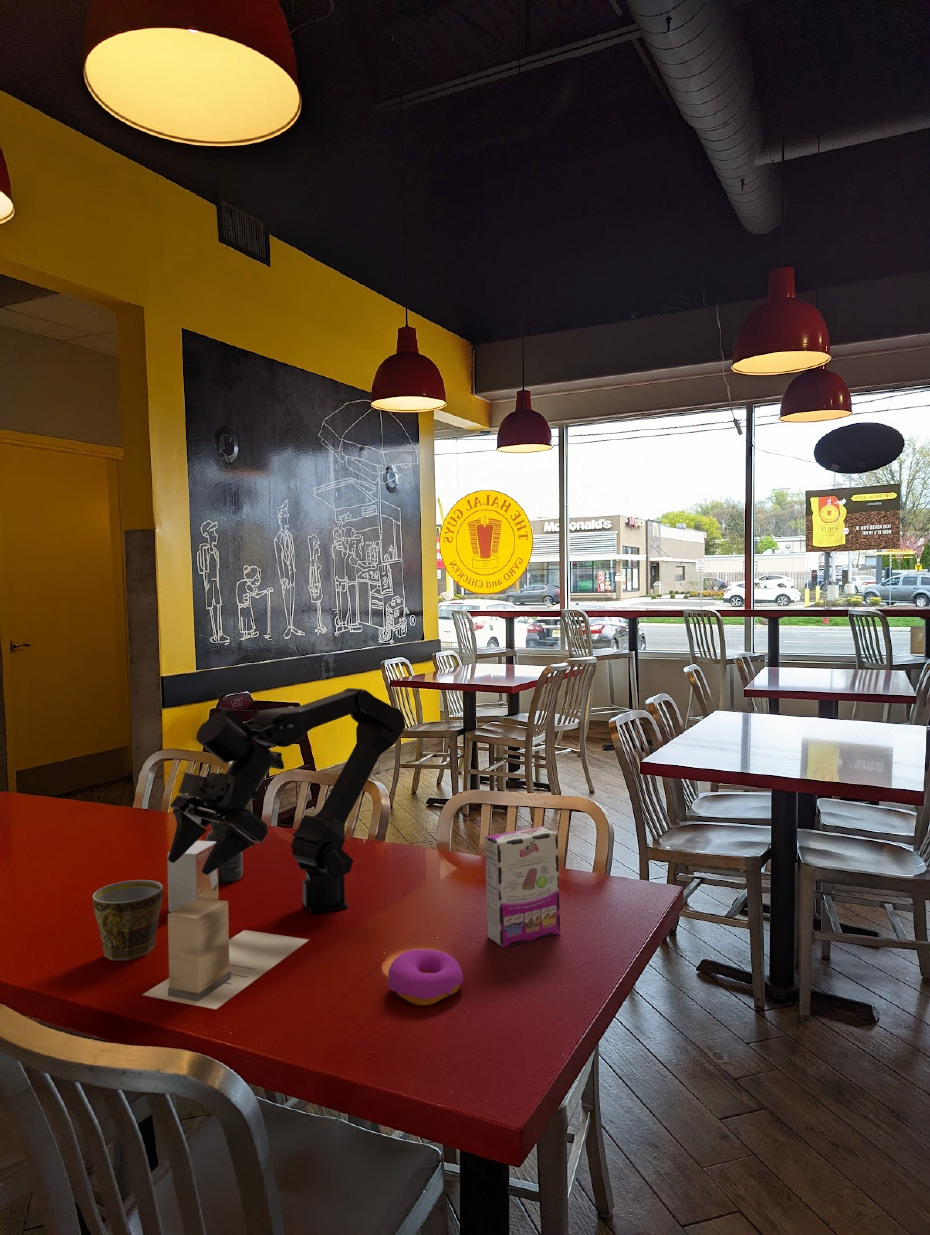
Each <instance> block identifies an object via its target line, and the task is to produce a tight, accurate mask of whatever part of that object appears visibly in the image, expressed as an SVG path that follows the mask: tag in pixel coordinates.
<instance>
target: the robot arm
mask: <svg viewBox="0 0 930 1235" xmlns="http://www.w3.org/2000/svg"><path fill="white" fill-rule="evenodd" d="M349 715H350V717H351V719H352V720H354V722H356V723H357V725H356V728H355V737H356V743H355V746H354V747H353V749H352V751H351V753H350V754H349V757H348V759H347V760H346V762H345V764H344V766H343V768H342V770H341V771H340V774H339V776H338V777H337V779H336V781H335V783H334V785H333V786H332V788H331V791H330V792H329V794H328V796H327V797H326V800H325V802H324V803H323V805H322V807H321V809H320V810H319V812H317V813H316V814H315V815H314V816H309V815H308V814H307V815H304V816H303V817H302V818H301V820H300V823H299V825H298V827H297V828H296V831H295V832H293V833H292V837H293V839H292V842H291V846H290V848H291V850H292V856H293V858H294V860H296V862H297V865H298V868H299V870H304V871H305V879H303V880H302V903H303V905H304V906H305V907H306V908H307V910H309V912H310V913H311V914H313V915H314V914H320V913H324V912H325V913H326V912H330V911H336V910H342V909H347V908H349V904H348V903H347V901H346V897H345V896H346V895H345V894H346V893H345V892H346V890H345V884H346V883H345V880H346V879H345V876H346V874H349V873H351V871H352V866H353V863H354V860H353V858H352V857H350V855H348V853H346V852H345V851H344V850H343V848H344V844H345V841H346V830H345V829H346V828H345V827H346V826H345V825H346V822H347V820H348V818H349V817H350V814H351V812H352V811H353V808H354V807H355V805H356V803H357V801H358V799H359V797H360V795H361V793H362V792H363V788H364V787H365V785H366V783H367V781H368V780H369V778H370V775H371V774H372V771H373V770H374V768H375V766H376V765H377V762H378V760H379V759H380V757H381V755H382V754H384V753H385V752H386V751H388V750H389V749H390V748H392V747H393V746H394V745H395V744H396V743H397V741H398V740H399V739H400V737H401V735H402V734H403V733H404V731H405V728H406V721H405V717H404V713H403V712H402V710H401V709H399V708H397V707H393V706H392V705H390V704H388V703H387V702H385V701H383V700H381V699H379V698H378V697H376V696H374V695H373V694H372V693H371V692H369V691H368V690H366V689H364V688H354V687H353V688H352V687H349V688H346V689H344V690H342V691H339V692H337V693H334V694H332V695H329V696H325V697H323V698H320V699H317V700H313V701H311V702H310V701H309V702H308V703H305V704H302V705H299V706H293V707H283V708H282V707H281V708H280V707H279V708H271V709H270V708H269V709H268V708H267V709H262V710H260V711H258V712H257V713H256V714H254V718H252V719H249V720H247V721H244V722H243V721H242V720H241V719H240V718H239V717H238V716H237V715H236V713H235V712H234V711H233V710H232V709H230V708H221V709H220V711H219V712H218V713H217V714H214V715H213V716H211V717H210V718H208V719H207V720H206V721H205V722H203V723H202V724H201V725H200V727H199V728H198V730H197V732H196V736H195V737H196V738H195V739H196V742H198V743H199V745H201V746H202V747H203V748H205V749H206V750H207V751H209V752H210V753H211V754H212V755H213V756H214V757H216V758H217V759H218V760H219V761H220V762H222V763H225V764H226V763H230V765H229V767H228V769H227V770H226V772H225V773H223V772H214V771H211V772H210V773H209V774H208V776H207V777H205V776H202V775H198V774H192V773H188V772H184V774H183V777H182V780H181V783H180V787H179V789H178V793H179V794H178V795H176V796H175V797H174V799H173V801H172V802H171V804H170V805H169V807H170V808H172V811H171V812H172V814H173V815H174V817H175V818H174V819H175V822H176V828H175V831H174V832H175V834H174V837H173V839H172V844H171V847H170V850H169V852H170V854H169V857H168V856H167V861H168V860H169V861H170V862H172V863H174V862H176V861H177V860H178V859H179V858H180V857H181V856H182V855H183V854H184V853H185V852H186V851H187V850H188V849H189V848H190V847H191V846H192V845H193V844H194V843H195V842H196V841H199V839H200V838H201V837H202V836H203V835H204V834H205V833H206V832H207V831H208V830H207V829H206V827H208V826H209V825H211V822H212V821H213V822H216V823H219V838H218V840H217V841H216V843H215V845H214V847H213V849H212V851H211V853H210V855H209V856H208V858H207V860H206V862H205V864H204V867H203V869H202V873H204V874H205V875H208V874H210V873H211V872H213V871H214V870H215V869H217V868H218V867H220V866H221V865H222V864H224V863H225V862H227V861H228V860H230V859H231V858H232V857H234V856H236V855H237V854H239V853H240V852H242V853H243V851H246V850H247V849H248V848H251V847H254V846H255V845H256V844H255V842H256V843H258V844H262V843H263V842H264V840H265V838H266V837H267V835H268V833H269V830H268V824H267V823H266V822H265V821H264V820H262V819H261V818H260V817H259V816H257V815H256V814H254V812H252V811H251V810H249V809H246V808H247V807H248V805H249V804H250V802H251V801H252V800H254V801H258V800H259V798H260V796H261V794H260V793H259V792H257V791H258V789H259V787H260V786H261V784H262V783H263V781H264V779H265V778H266V776H267V774H268V773H269V772H270V770H271V768H272V769H277V770H284V768H285V764H284V763H285V762H284V760H283V755H282V754H283V753H282V752H279V751H273V750H271V749H270V748H268V746H273V747H274V746H275V747H278V748H279V747H280V748H287V747H289V746H291V745H293V744H295V743H297V742H298V741H300V740H301V739H304V737H305V736H306V734H307V733H308V732H309V731H311V730H312V729H314V728H317V727H320V726H323V725H325V724H328V723H331V722H333V721H336V720H338V719H341V718H343V717H346V716H349ZM253 740H254V741H256V742H257V743H258V744H257V743H255V742H254V741H253ZM266 745H268V746H266ZM223 817H224V818H223Z"/></svg>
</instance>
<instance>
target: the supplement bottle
mask: <svg viewBox="0 0 930 1235" xmlns="http://www.w3.org/2000/svg"><path fill="white" fill-rule="evenodd" d="M223 818H224V817H223ZM210 829H211V831H210V832H208V834H207V835H206V837H205V841H214V842H216V841H217V840H218V838H219V823H216V822H213V821H212V822H211V824H210ZM242 877H243V851H242V852H240V853H239V854H237V855H236V856H234V857H232V858H231V859H230V860H228V861H227V862H225V863H224V864H222V865H221V866H220V867H218V885H224V884H231V883H235V882H237V881H239V880H240V879H242Z"/></svg>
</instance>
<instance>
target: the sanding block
mask: <svg viewBox="0 0 930 1235" xmlns="http://www.w3.org/2000/svg"><path fill="white" fill-rule="evenodd" d="M229 923H230V922H229V901H228V900H222V899H221V900H220V899H217V900H215V899H208V898H201V897H200V898H198V899H196V900H194V901H192V902H190V903H188V904H186V905H185V906H183V907H181V908H179V909H177V910H175V911H173V912H168V914H167V930H168V931H167V933H168V936H167V939H168V940H167V943H168V978H169V988H168V996H172V997H177V998H182V999H188V1000H193V1001H198V1002H199V1001H200V1000H201V999H203V998H204V997H206V996H207V995H208V994H210V993H211V992H213V991H214V990H215V989H217V988H218V987H220V986H221V985H223V984H224V983H225V982H227V981H228V980H230V979H231V971H229V940H230V938H229V937H230V935H229V932H230V930H229V929H230V928H229V927H230V926H229Z"/></svg>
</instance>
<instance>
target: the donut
mask: <svg viewBox="0 0 930 1235" xmlns="http://www.w3.org/2000/svg"><path fill="white" fill-rule="evenodd" d="M387 972H388V974H387V982H388V983H387V984H388V985H387V986H388V988H389V989H390V990H391V991H393V992H395V993H396V994H397V996H399V997H400V998H402V999H404V1001H407V1002H409V1003H411V1004H413V1005H416V1006H420V1005H423V1007H427V1006H431V1005H434V1004H435V1003H436V1004H437V1003H438V1002H440V1001H442V1000H443V999H445V998H447V997H450V996H452V995H453V994H456V993H457V991H459V990H460V985H462V984H463V982H464V974H463V971H462V968H461V966H460V964H459V962H458V961H457V960H456V959H455V957H453V956H452V955H450V954H449V953H447V952H444V951H440V950H434V949H422V948H421V949H411V950H408V951H404V952H403V953H400V954H399V955H397V957H396V958H394V959H393V961H392V963H391V964H390V966H389V968H388V971H387ZM426 1005H427V1006H426Z"/></svg>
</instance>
